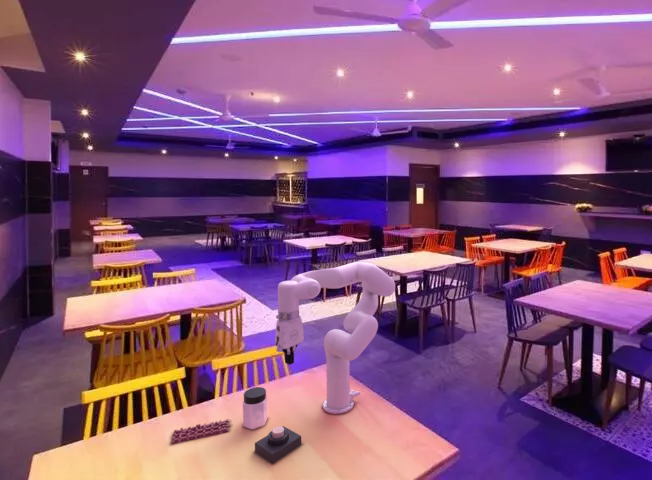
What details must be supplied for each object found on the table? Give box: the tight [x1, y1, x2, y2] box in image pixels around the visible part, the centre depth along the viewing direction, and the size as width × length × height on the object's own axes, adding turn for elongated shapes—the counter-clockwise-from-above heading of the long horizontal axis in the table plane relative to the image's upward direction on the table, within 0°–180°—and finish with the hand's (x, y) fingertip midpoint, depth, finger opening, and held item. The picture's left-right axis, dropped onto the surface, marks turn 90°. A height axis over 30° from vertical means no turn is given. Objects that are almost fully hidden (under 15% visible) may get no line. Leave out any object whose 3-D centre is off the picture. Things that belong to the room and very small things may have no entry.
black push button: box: [254, 425, 302, 464], centre depth 138 cm, size 12×10×5 cm
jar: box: [242, 386, 268, 430], centre depth 153 cm, size 9×8×12 cm
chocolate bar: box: [171, 418, 231, 445], centre depth 148 cm, size 7×19×2 cm, turn 112°
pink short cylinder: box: [271, 425, 284, 439], centre depth 138 cm, size 4×4×2 cm
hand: (289, 363), depth 149 cm, fingers closed
